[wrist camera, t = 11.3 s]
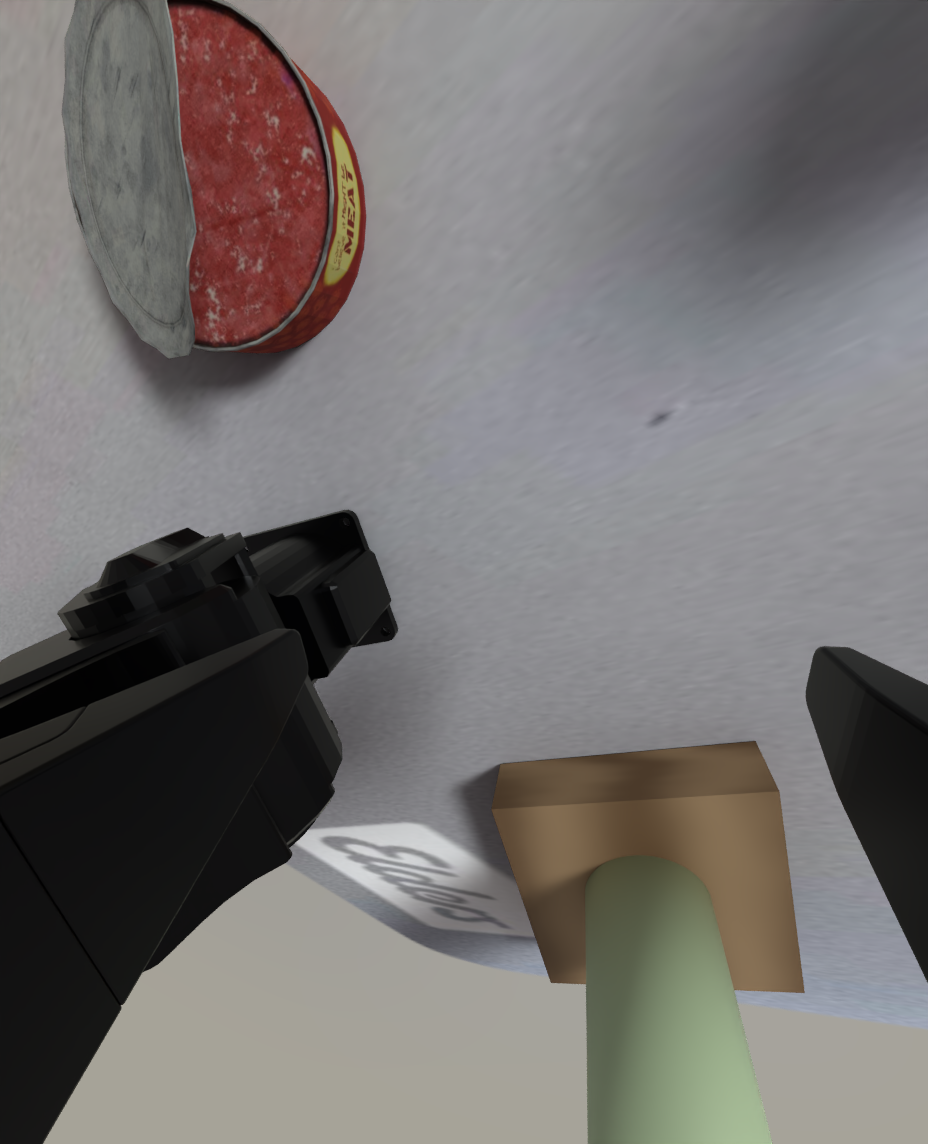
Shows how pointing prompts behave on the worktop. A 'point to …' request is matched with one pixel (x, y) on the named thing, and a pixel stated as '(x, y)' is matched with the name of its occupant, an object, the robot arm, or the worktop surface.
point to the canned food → (208, 177)
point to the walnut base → (655, 847)
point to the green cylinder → (663, 1014)
